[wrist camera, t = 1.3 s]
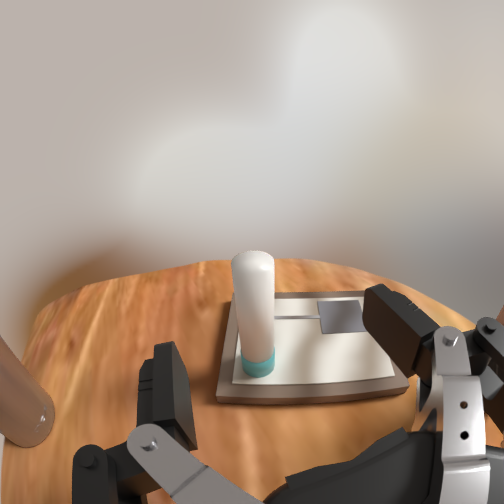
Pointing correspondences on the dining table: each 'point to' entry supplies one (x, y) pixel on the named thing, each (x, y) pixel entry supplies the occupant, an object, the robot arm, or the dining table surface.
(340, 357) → the board
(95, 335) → the dining table surface
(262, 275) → the cylinder
